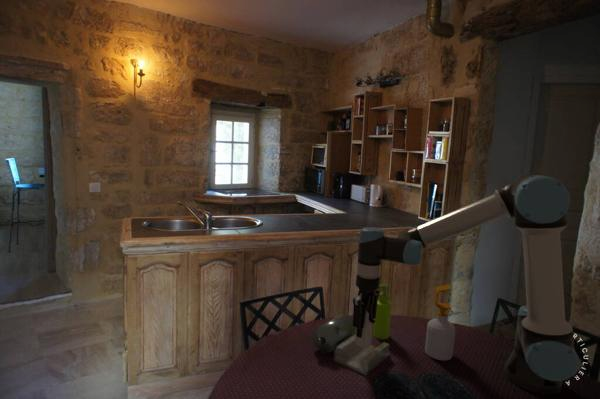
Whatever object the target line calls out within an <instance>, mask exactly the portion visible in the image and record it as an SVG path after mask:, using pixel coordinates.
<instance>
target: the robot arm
mask: <svg viewBox="0 0 600 399" xmlns="http://www.w3.org/2000/svg"><path fill="white" fill-rule="evenodd" d="M570 203H571V196H570V193H569V191H568V189H567V188H566V186H565V185H564V184H563V183H562V182H561V181H560V180H558V179H556V178H554V177H553V176H550V175H544V174H539V173H538V174H537V173H528V174H525V175H522V176H520V177H518V178H516V179H515V180H513V181H512V182H509V183H507V184H505V185H504V186H501V187H498V188H496V189H495V190H494V193H493V194H491V195H488V196H486V197H484V198H481V199H479V200H477V201H475V202H472V203H469V204H467V205H465V206H462V207H460V208H457V209H455V210H453V211H450V212H448V213H446V214H443V215H441V216H439V217H435V218H434V219H431V220H429V221H426V222H424V223H422V224H419V225H417V226H415V227H412V228H409V229H405V230H402V231H401V232H400V233H399V234H398V236H397V237H391V236H387V235H385V232H384V230H383V228H379V227H374V226H366V227H365V226H364V227H363V228H361V229H360V231H359V238H358V250H357V262H356V265H357V266H356V273H357V274H356V275H355V277H356V278H355V286H356V287H357V288H358V293H357V297H356V298H355V297H353V298H352V304H353V308H352V310H353V311H352V313H353V315H352V320H353V326H354V327H356V328H357V330H356V333H355V334H356V343H355V344H356V345H358V346H360V347H364V337H365V328H364V323H365V317H366V311H367V313H369V321H370V322H371V323H372V324H374V323H375V320H374V319H375V318H376V311H377V302H378V300H379V295H380V290H379V284H381V283H380V282H381V280H380V279H381V278H380V276H381V274H382V273H381V272H382V270H381V268H382V261H387V262H393V263H397V264H398V263H399V264H404V265H407V266H419V265H420V264H421V263H422V257H423V249H426V248H428V247H429V246H433V245H435V244H438V243H441V242H444V241H445V240H448V239H451V238H454V237H455V236H456V237H457V236H459V235H461V234H464V233H467V232H469V231H473V230H474V229H477V228H479V227H481V226H482V227H483V226H485V225H488V224H489V223H490V224H491V223H492V222H495V221H497V220H500V219H503V218H508V219H513V218H514V226H515V228H516V229H518V230H519V231H520V232H521V236H522V238H521V239H522V251H523V263H524V264H523V269H524V282H525V283H524V284H525V296H526V298H525V299H526V305H522V306H520V307H519V308H518V313H517V320H516V329H515V330H516V331H515V337H514V344H513V350H512V352H511V354H510V355H509V356H508V358H507V361H506V362H505V364H504V371H503V372H504V375H505V376H506V377H507V379H508V380H510V381H511V382H512V383H513V384H515V385H516V386H518V387H520V388H521V389H524V390H525V391H529V392H531V393H536V394H539V395H547V396H552V395H557V394H559V393H560V392H561V390H562V385H563V382H564V381H567V380H569V379H570V378H572V377H574V376H575V375H576V374H577V372H578V371H579V368H580V362H579V360H580V359H579V355H578V354H577V352H576V350H575V343H574V329H573V328H574V327H573V325H571V323H570V322H568V321H567V320H566V310H565V309H566V308H565V295H564V294H565V291H564V290H565V289H564V279H563V278H564V274H563V259H562V241H561V240H562V239H561V232H562V231H563V230H564V229H565V228H567V227H568V223H567V222H568V221H567V219H568V218H567V212H568V211H569V208H570Z"/></svg>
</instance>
